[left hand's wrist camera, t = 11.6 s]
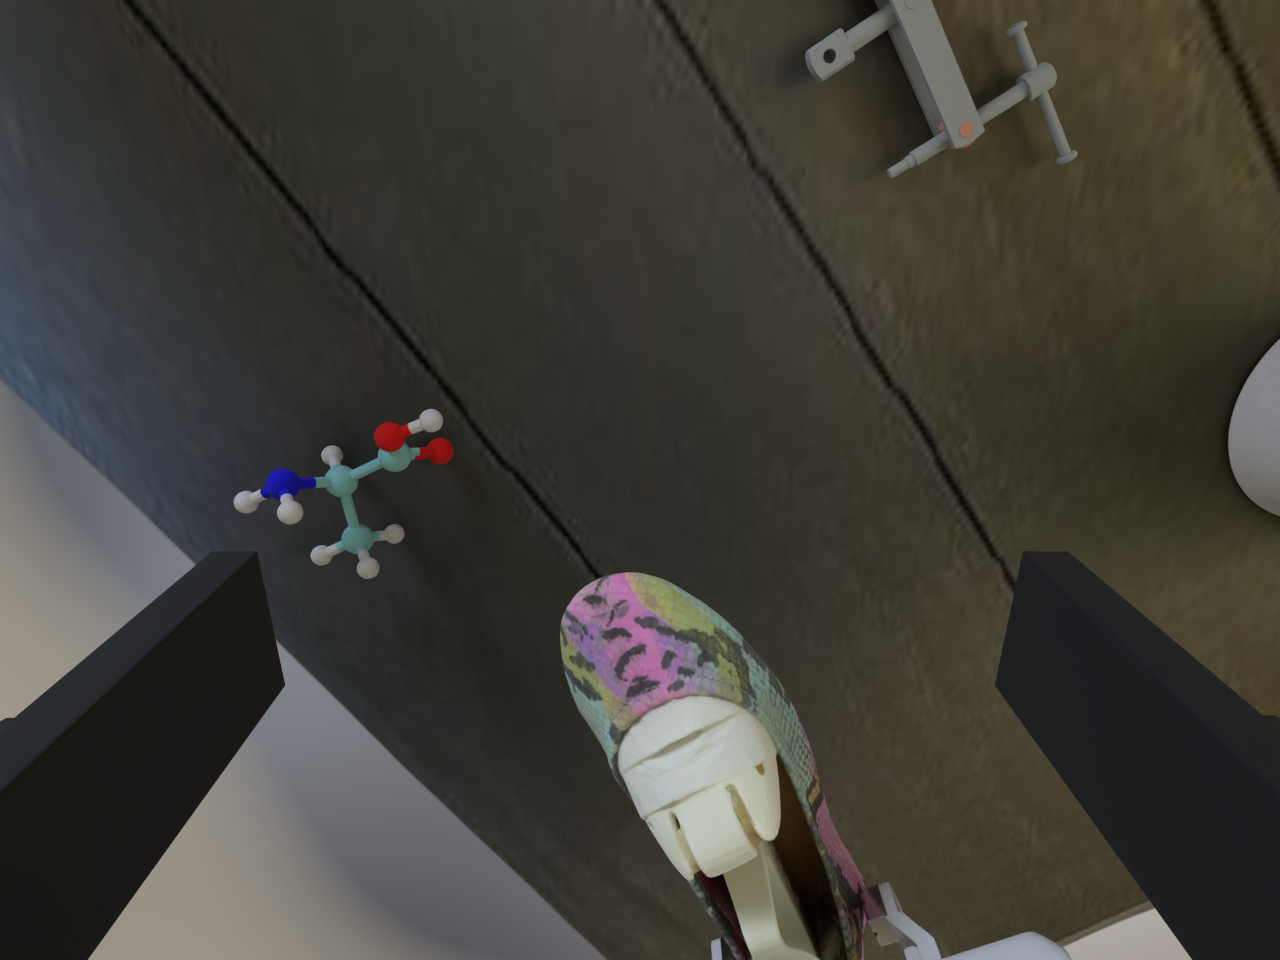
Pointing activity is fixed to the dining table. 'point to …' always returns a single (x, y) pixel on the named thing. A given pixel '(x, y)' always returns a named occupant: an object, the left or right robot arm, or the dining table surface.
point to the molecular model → (352, 487)
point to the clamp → (939, 76)
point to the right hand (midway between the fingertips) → (804, 918)
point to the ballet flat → (714, 766)
